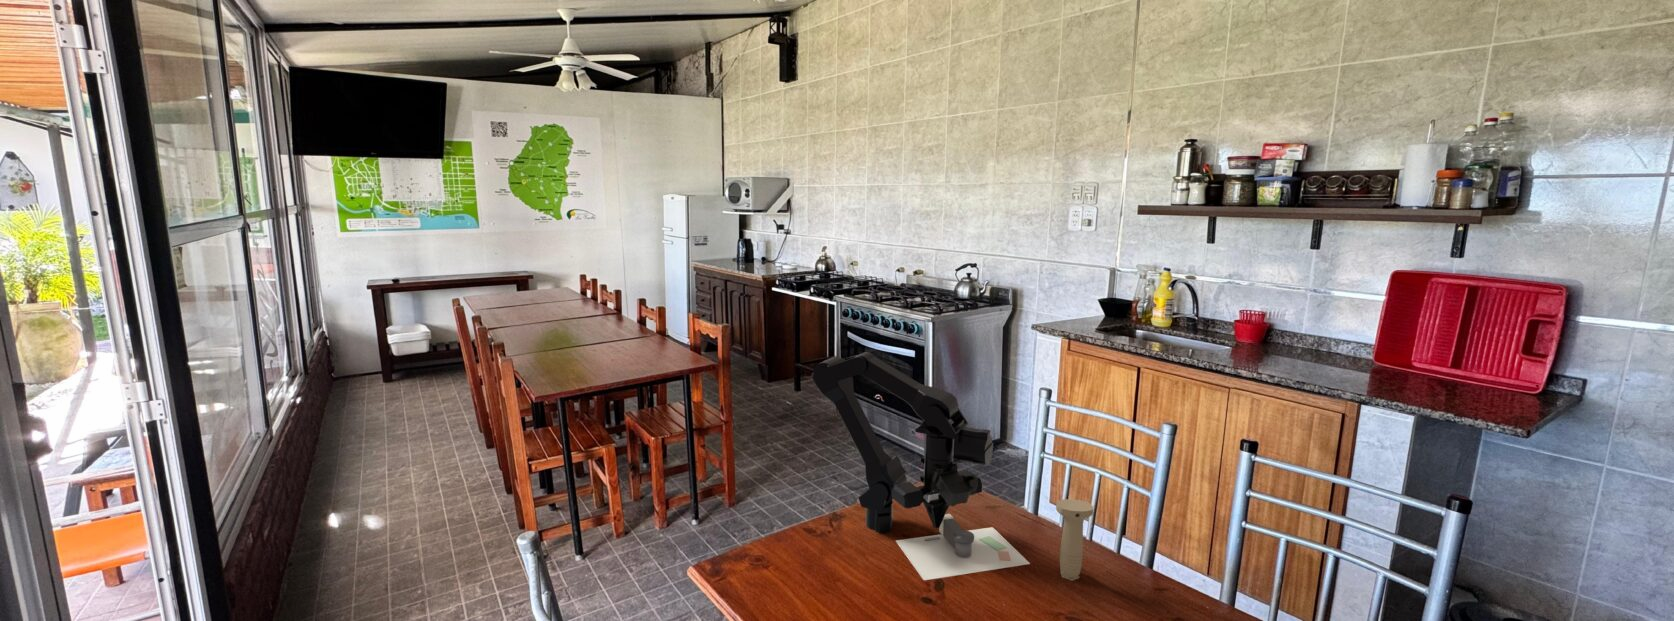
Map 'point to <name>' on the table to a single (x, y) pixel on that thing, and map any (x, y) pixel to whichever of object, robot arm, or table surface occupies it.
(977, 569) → the board
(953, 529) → the grey round-headed bar
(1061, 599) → the table surface
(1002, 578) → the table surface
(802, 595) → the table surface
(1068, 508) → the handle
